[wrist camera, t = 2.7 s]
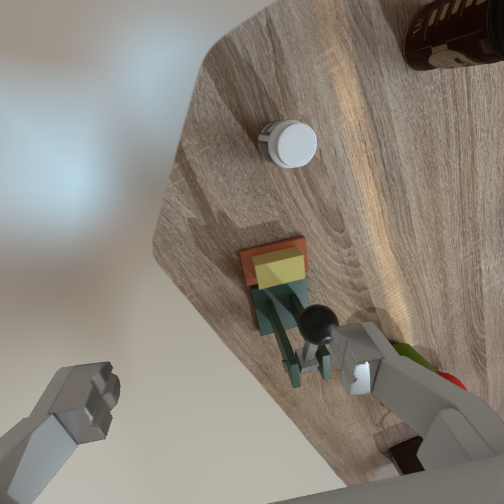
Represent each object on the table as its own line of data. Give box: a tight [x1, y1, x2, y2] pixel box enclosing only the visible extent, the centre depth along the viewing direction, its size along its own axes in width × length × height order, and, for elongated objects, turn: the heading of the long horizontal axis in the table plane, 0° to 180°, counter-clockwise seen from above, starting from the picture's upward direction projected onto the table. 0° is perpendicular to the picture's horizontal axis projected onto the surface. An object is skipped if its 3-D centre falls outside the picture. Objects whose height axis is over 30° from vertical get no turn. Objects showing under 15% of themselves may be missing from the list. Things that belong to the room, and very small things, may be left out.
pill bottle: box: [258, 120, 317, 168], centre depth 28 cm, size 5×5×8 cm
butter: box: [239, 236, 308, 290], centre depth 38 cm, size 6×10×4 cm, turn 100°
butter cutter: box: [250, 275, 331, 388], centre depth 37 cm, size 10×9×14 cm
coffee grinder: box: [389, 437, 425, 476], centre depth 67 cm, size 16×11×18 cm
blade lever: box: [295, 304, 339, 374], centre depth 28 cm, size 15×4×4 cm, turn 10°
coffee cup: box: [403, 0, 504, 71], centre depth 24 cm, size 9×8×13 cm
